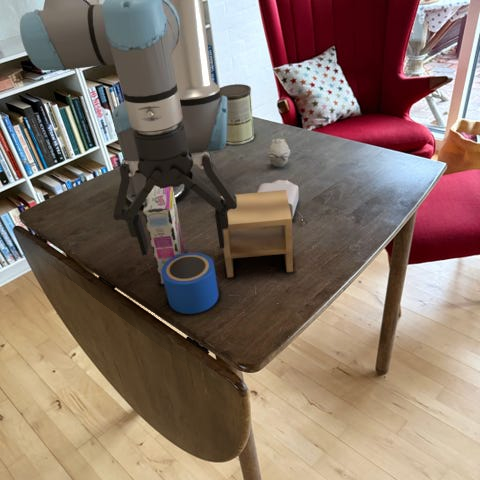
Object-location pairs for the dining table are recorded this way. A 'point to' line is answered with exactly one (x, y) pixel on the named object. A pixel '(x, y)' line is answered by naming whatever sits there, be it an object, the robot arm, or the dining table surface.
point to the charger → (283, 185)
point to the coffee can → (238, 113)
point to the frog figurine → (278, 152)
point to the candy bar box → (163, 225)
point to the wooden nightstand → (259, 228)
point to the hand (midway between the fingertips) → (183, 247)
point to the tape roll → (190, 282)
